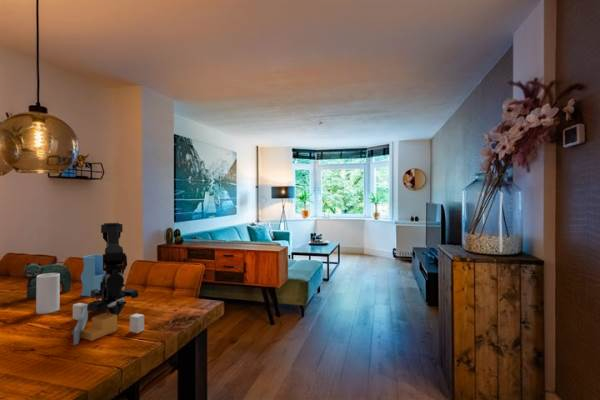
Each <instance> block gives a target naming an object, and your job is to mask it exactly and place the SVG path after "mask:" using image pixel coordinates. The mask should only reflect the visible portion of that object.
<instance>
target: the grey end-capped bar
mask: <svg viewBox="0 0 600 400" xmlns="http://www.w3.org/2000/svg"><path fill="white" fill-rule="evenodd" d="M88 320H89V311H88V310H87V307H86V308H84V310H83V312H82V314H81V316H80V318H79V320H77V323H76V325H75V327H74V329H73V331H71V332H70V335H71V336H73V345H74V346H75V345H78V344H79V342H80V340H81V331H82V330H85V326H86V325H87V322H88Z"/></svg>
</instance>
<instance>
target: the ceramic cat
mask: <svg viewBox="0 0 600 400" xmlns="http://www.w3.org/2000/svg"><path fill="white" fill-rule="evenodd" d="M43 258H45V259H47V260H49V258H48V257H46V256H42V257H40V258H39V261H38V263H30V262H27V263H26V265H25V266H24V268H23V274H24V276H25V277H27V278H28V279H27V284H26V297H27V299H28V300H31V299H35V298H36V278H37V276H38V275H41V274H47V273H59V274H60V286H61V292H62V293H69V292H70V291H71V285H72V274H71V272H70V270H69V265H68V264H67V263H66V262H64V261H63V262H62V261H55V262H51V263H49V264H46V265H45V264H42V263H41V259H43ZM63 264H64V265H63Z"/></svg>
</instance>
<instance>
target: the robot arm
mask: <svg viewBox="0 0 600 400" xmlns="http://www.w3.org/2000/svg"><path fill="white" fill-rule="evenodd" d="M123 227H124V226H123V224H122V223H120V222H104V223H103V224H100V234H102V238H103V240H104V242H105V243H106V247H105V248H104V254H103V253H102V255H103V271H105V274H104V275H103V277H102V282H100V290H98V289H95V290H92V291H91V296H90V297H91V299H95V300H94V301H93V300H92V301H91V302H88V303H87V304H88V305H87V310H88V312H93V313H100V312H103V311H105V310H108V313H111V314H115V315H117V319H118V318H119V316H120V314H121V311H122V310H123V308H124V307H125V304H127V301H125V299H127V298H129V297H130V298H131V299H136V298H138V297H139V296H140V295H139V291H138V290H137V289H132V288H127V289H124V290H123V288H124V287H125V286H126V285H125V283H124V282H125V279H124V275H123V270H126V268H127V266H128V257H127V254H126V252H124V249H123V247H122V246H121V245H120V239H121V234H122V233H123V229H124V228H123Z"/></svg>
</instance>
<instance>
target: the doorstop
mask: <svg viewBox="0 0 600 400" xmlns="http://www.w3.org/2000/svg"><path fill="white" fill-rule="evenodd" d="M117 331H118V318H117V315H115V314H111V313H110V312H105V313H101V314H98V315H95V316H92V317H91V326H90V327H88V328H84V330H82V331H81V337H80V339H84V340H88V341H90V342H92V341H94V340H97V339H99V338H102V337H105V336H107V335H109V334H112V333H115V332H117Z"/></svg>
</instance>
